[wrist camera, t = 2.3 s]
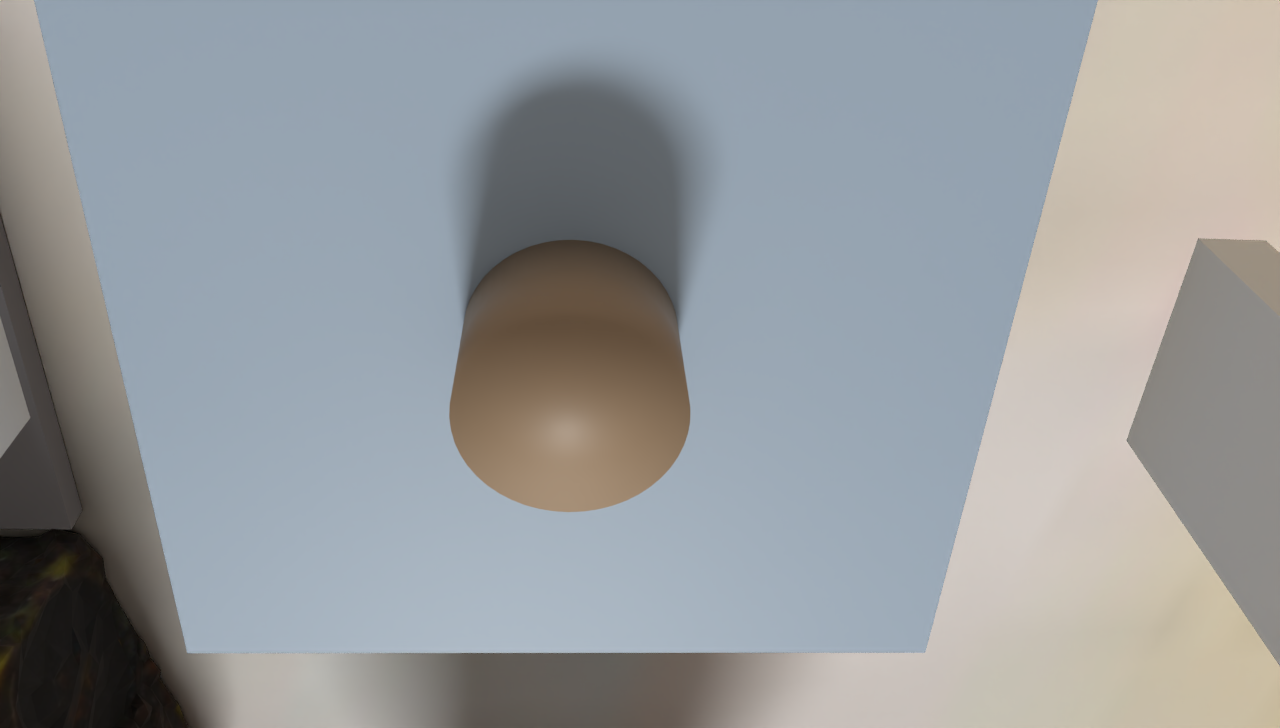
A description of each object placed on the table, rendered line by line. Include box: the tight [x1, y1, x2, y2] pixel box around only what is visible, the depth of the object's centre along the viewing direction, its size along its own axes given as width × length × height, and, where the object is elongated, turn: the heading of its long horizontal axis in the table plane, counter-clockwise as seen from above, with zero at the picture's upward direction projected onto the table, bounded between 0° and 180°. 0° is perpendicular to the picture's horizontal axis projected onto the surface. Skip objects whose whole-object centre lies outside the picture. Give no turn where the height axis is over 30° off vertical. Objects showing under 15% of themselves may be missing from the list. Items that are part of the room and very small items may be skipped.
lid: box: [34, 0, 1098, 653], centre depth 13 cm, size 10×10×4 cm
